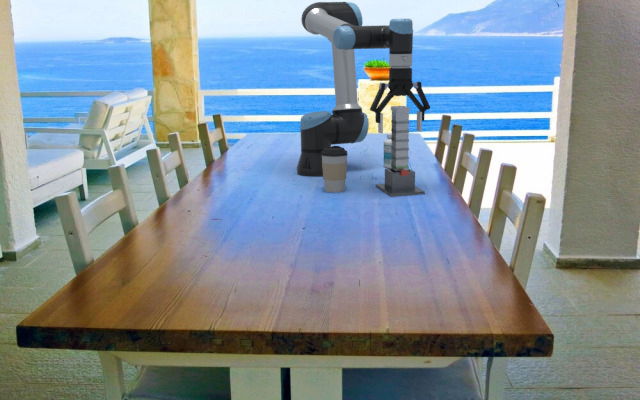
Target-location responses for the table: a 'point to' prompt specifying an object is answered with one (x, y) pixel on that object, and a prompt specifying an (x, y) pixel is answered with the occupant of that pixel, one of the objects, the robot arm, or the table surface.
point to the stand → (400, 183)
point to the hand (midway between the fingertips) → (399, 131)
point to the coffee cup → (334, 168)
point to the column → (400, 137)
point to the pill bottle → (388, 151)
